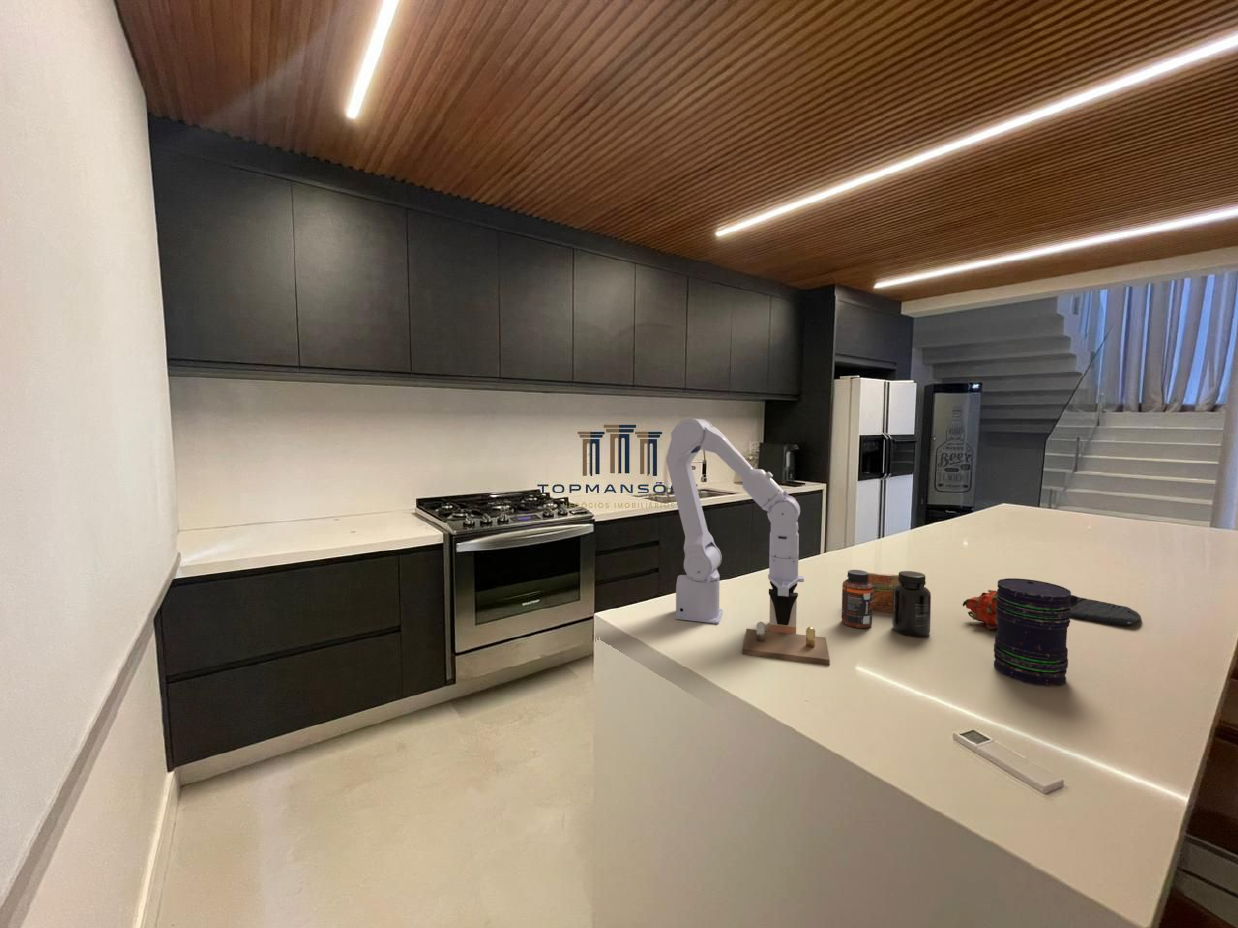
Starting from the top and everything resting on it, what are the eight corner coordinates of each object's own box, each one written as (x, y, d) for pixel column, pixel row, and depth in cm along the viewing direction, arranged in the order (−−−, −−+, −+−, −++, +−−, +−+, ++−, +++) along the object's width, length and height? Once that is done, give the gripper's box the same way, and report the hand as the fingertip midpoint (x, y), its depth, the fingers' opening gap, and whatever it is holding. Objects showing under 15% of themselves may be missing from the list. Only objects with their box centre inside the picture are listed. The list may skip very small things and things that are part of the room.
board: (742, 654, 95) (742, 648, 95) (746, 633, 105) (746, 628, 105) (829, 664, 91) (829, 659, 90) (825, 642, 100) (825, 637, 100)
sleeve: (769, 631, 106) (769, 598, 105) (770, 622, 111) (770, 590, 110) (796, 634, 104) (796, 600, 103) (795, 624, 109) (796, 592, 108)
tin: (848, 608, 119) (849, 572, 118) (847, 603, 122) (848, 569, 121) (922, 616, 113) (923, 579, 113) (920, 611, 116) (921, 575, 116)
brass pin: (805, 647, 96) (806, 628, 95) (805, 643, 97) (806, 625, 97) (815, 648, 95) (815, 629, 95) (814, 644, 97) (815, 626, 96)
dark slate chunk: (1134, 635, 103) (1136, 612, 103) (1002, 607, 120) (1003, 587, 120) (1144, 617, 113) (1145, 596, 112) (1020, 593, 130) (1021, 574, 129)
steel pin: (756, 641, 98) (756, 622, 98) (756, 637, 100) (756, 619, 100) (764, 642, 98) (765, 623, 98) (765, 638, 99) (765, 620, 99)
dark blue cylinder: (1073, 693, 80) (1078, 600, 79) (995, 677, 86) (999, 590, 85) (1060, 667, 89) (1065, 583, 88) (990, 654, 94) (994, 575, 93)
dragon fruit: (1033, 647, 101) (965, 636, 111) (1043, 614, 105) (976, 606, 115) (1019, 617, 98) (951, 608, 108) (1029, 585, 102) (962, 579, 112)
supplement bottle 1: (875, 630, 106) (877, 576, 105) (844, 628, 107) (846, 575, 106) (867, 619, 112) (869, 568, 111) (838, 617, 113) (839, 567, 112)
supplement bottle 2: (927, 627, 107) (929, 571, 106) (932, 640, 101) (934, 580, 100) (890, 622, 110) (892, 567, 109) (892, 634, 104) (894, 576, 103)
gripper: (805, 565, 98) (804, 634, 99) (803, 548, 112) (802, 609, 113) (767, 563, 100) (766, 630, 101) (769, 546, 114) (768, 606, 115)
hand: (782, 619), depth 107 cm, fingers closed on sleeve, 5 cm apart
